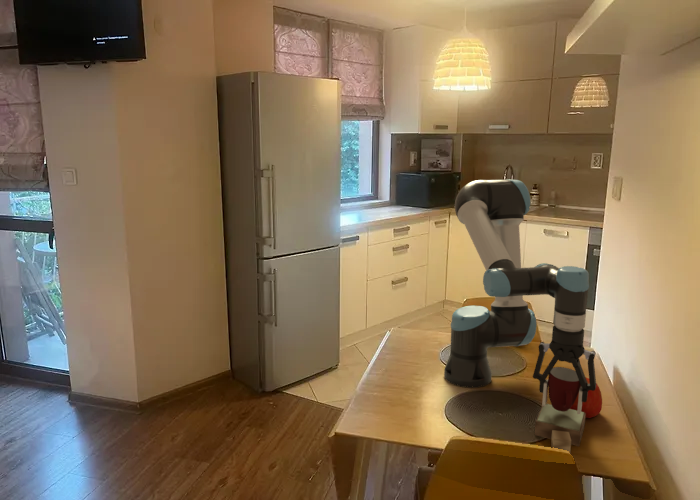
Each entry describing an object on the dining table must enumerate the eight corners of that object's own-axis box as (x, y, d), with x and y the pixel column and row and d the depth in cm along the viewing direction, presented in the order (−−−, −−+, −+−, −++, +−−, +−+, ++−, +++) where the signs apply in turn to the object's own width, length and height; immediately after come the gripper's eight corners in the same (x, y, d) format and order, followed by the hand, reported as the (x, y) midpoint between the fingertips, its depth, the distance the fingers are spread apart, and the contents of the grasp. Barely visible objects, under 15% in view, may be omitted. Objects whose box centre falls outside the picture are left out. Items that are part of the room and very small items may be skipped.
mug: (585, 422, 136) (591, 387, 133) (554, 420, 136) (559, 385, 133) (569, 400, 146) (574, 367, 144) (540, 399, 146) (545, 366, 144)
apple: (560, 418, 149) (563, 383, 146) (559, 400, 159) (562, 367, 156) (602, 425, 145) (606, 389, 143) (599, 406, 155) (602, 372, 152)
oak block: (552, 452, 133) (554, 438, 132) (551, 444, 136) (552, 430, 136) (569, 455, 132) (571, 440, 131) (567, 446, 136) (568, 432, 135)
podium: (534, 434, 140) (535, 420, 140) (542, 416, 150) (543, 402, 149) (579, 446, 135) (580, 431, 134) (584, 426, 144) (585, 411, 143)
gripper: (523, 324, 138) (518, 404, 143) (612, 339, 128) (603, 424, 133) (529, 316, 144) (524, 392, 149) (614, 329, 134) (606, 411, 139)
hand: (561, 407), depth 141 cm, fingers closed on mug, 8 cm apart
